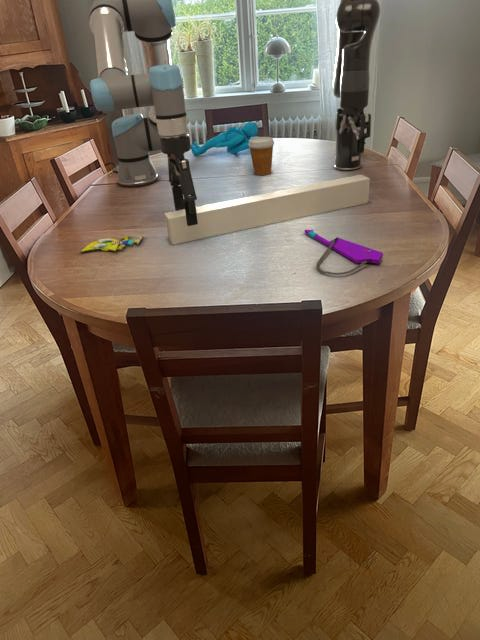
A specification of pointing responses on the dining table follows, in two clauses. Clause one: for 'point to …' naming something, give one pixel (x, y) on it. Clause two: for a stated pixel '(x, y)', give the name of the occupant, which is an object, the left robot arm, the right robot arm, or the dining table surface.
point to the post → (268, 208)
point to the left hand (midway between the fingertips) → (186, 217)
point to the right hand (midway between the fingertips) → (351, 149)
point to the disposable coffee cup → (261, 154)
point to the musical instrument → (347, 252)
